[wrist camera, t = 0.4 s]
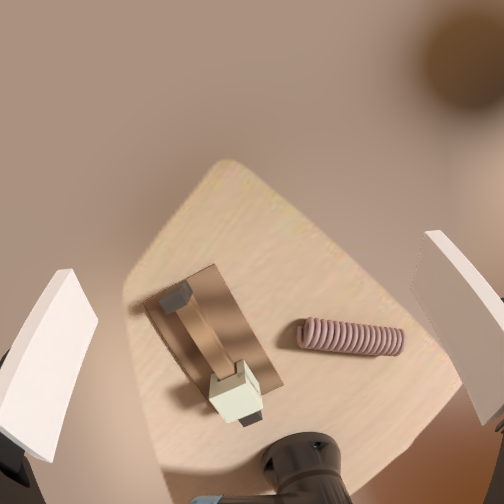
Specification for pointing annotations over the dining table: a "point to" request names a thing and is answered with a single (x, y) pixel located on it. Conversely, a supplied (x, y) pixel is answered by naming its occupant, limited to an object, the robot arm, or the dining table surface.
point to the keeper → (236, 394)
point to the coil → (351, 338)
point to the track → (223, 328)
